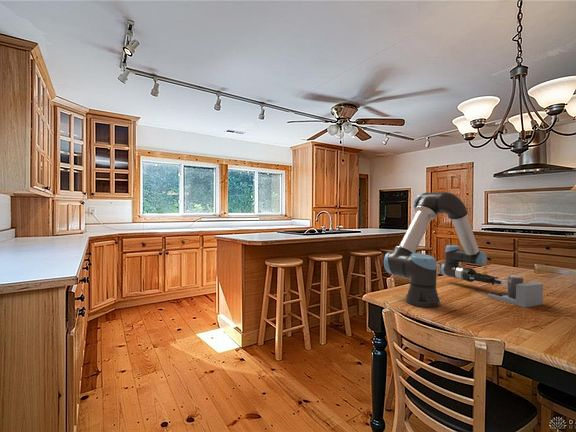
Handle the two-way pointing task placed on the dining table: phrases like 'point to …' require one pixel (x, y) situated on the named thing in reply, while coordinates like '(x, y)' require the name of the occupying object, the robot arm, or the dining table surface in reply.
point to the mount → (524, 295)
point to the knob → (513, 286)
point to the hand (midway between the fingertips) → (508, 284)
